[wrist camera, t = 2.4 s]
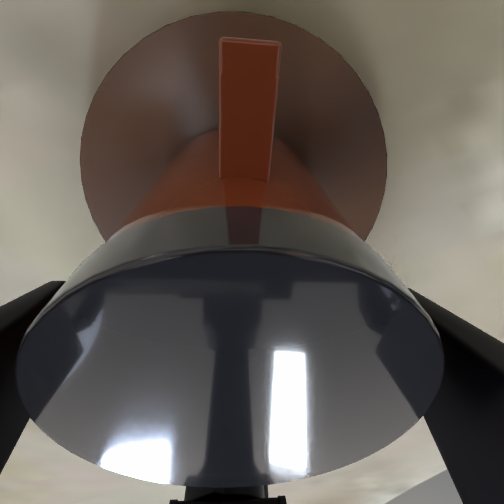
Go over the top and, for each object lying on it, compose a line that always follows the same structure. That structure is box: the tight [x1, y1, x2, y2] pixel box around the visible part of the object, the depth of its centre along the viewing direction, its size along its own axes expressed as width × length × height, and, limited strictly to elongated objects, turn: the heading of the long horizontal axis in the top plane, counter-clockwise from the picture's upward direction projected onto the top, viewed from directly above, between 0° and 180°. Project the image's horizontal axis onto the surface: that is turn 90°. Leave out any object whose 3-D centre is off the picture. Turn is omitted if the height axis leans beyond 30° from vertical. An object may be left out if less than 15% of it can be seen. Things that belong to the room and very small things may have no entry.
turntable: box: [80, 12, 387, 242], centre depth 13 cm, size 14×14×1 cm
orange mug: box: [14, 37, 445, 488], centre depth 8 cm, size 9×7×9 cm
